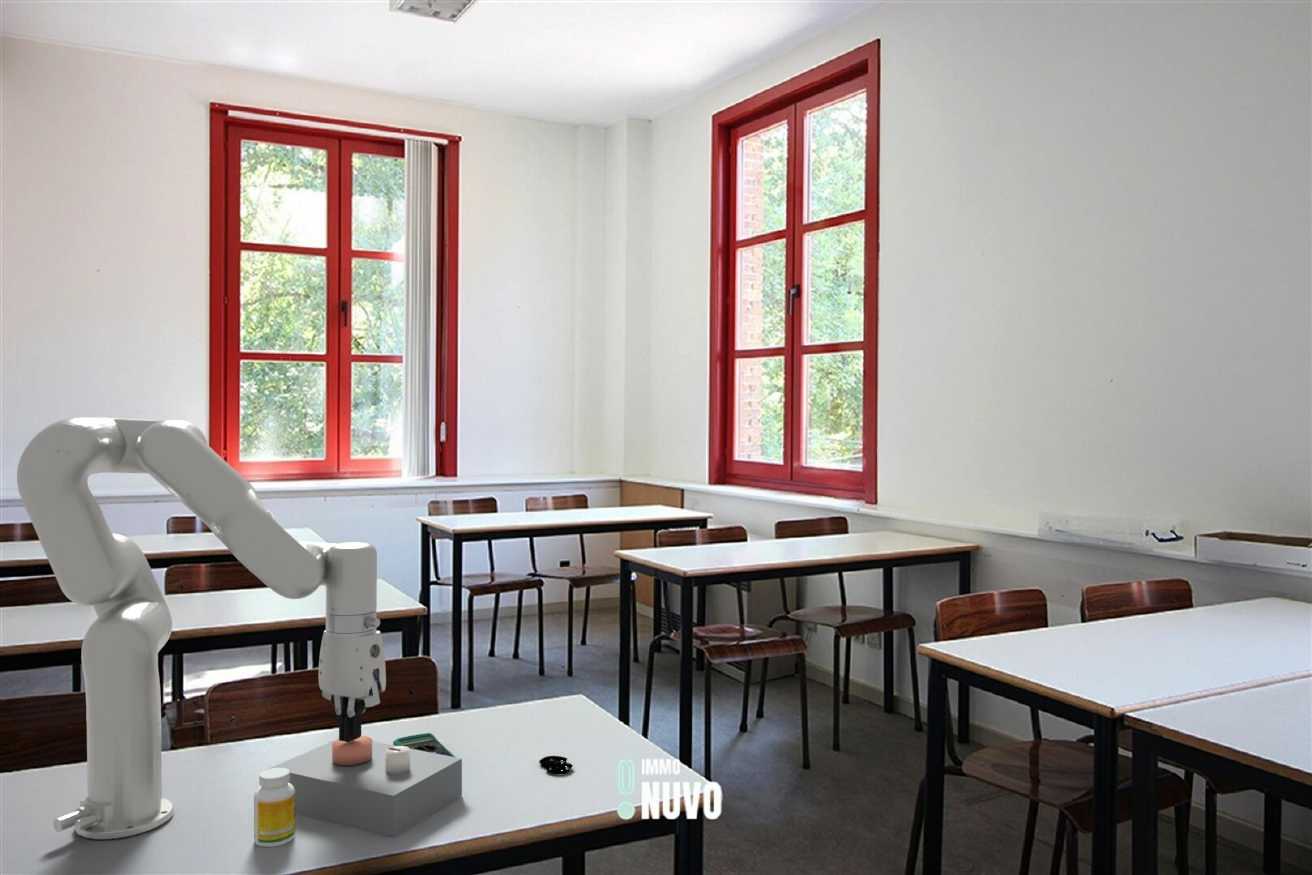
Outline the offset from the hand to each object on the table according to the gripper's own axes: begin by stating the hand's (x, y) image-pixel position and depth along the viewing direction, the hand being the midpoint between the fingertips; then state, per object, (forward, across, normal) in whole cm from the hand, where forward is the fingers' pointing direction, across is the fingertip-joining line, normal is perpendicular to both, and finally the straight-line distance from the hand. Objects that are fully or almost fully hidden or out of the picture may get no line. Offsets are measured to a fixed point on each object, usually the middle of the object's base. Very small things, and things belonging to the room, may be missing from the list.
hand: (350, 738), depth 148 cm
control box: (+9, -3, 0) cm, 10 cm away
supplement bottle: (+10, -1, +16) cm, 18 cm away
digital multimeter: (+10, 0, -18) cm, 21 cm away
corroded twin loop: (+10, -22, -25) cm, 35 cm away
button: (+6, 0, 0) cm, 6 cm away
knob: (+3, -9, 0) cm, 10 cm away
